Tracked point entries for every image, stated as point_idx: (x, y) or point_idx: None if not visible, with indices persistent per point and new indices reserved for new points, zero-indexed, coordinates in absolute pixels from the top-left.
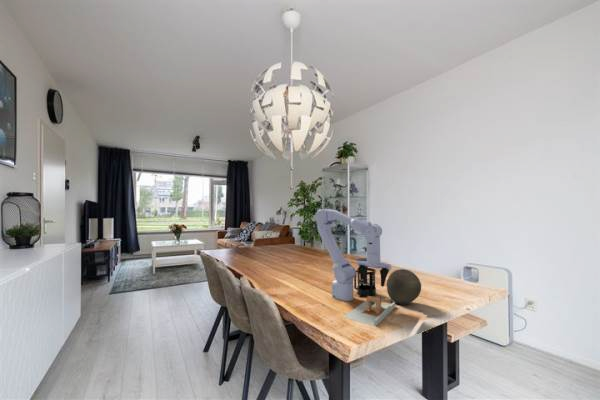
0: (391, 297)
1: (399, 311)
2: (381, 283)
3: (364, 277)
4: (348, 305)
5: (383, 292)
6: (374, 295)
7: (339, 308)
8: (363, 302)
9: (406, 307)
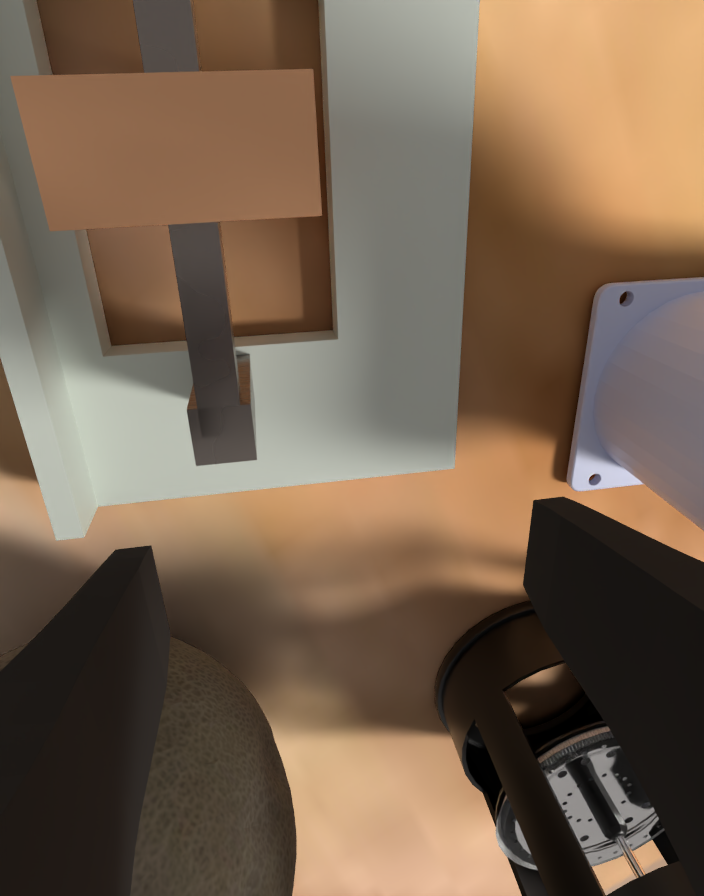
0: (183, 649)
1: (15, 476)
2: (112, 579)
3: (630, 576)
4: (600, 263)
5: (405, 792)
6: (441, 677)
7: (677, 76)
8: (455, 398)
9: (29, 622)
